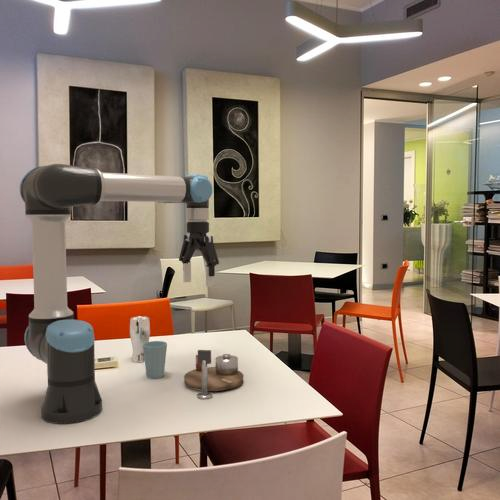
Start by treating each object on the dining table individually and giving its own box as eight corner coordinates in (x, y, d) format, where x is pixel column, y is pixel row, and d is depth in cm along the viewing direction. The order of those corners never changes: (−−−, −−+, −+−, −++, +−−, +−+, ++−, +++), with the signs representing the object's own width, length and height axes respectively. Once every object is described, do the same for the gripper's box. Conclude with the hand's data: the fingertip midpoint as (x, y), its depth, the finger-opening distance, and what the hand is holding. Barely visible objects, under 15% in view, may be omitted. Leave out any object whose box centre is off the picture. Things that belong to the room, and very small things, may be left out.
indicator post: (210, 399, 144) (210, 352, 143) (195, 399, 144) (194, 352, 143) (214, 394, 148) (213, 348, 147) (199, 393, 149) (198, 348, 148)
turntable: (206, 395, 145) (206, 373, 145) (172, 379, 159) (172, 359, 159) (255, 381, 157) (255, 361, 157) (219, 368, 171) (219, 349, 170)
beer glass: (152, 361, 181) (151, 319, 180) (132, 363, 179) (131, 320, 178) (148, 356, 188) (147, 315, 187) (129, 358, 185) (128, 317, 184)
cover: (224, 377, 156) (224, 359, 156) (211, 372, 162) (210, 354, 161) (242, 372, 161) (242, 355, 160) (228, 367, 166) (228, 350, 166)
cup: (170, 377, 163) (169, 345, 163) (146, 380, 160) (145, 347, 160) (164, 371, 170) (163, 339, 170) (140, 374, 167) (140, 342, 167)
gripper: (229, 221, 166) (229, 286, 168) (186, 220, 185) (187, 279, 187) (210, 221, 161) (211, 289, 163) (168, 220, 180) (169, 281, 182)
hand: (198, 284), depth 175 cm, fingers open, 13 cm apart
